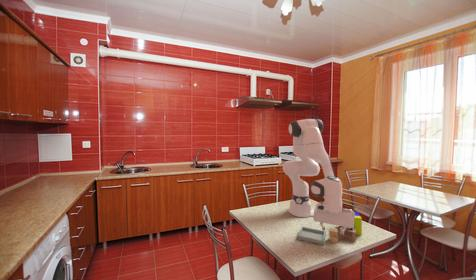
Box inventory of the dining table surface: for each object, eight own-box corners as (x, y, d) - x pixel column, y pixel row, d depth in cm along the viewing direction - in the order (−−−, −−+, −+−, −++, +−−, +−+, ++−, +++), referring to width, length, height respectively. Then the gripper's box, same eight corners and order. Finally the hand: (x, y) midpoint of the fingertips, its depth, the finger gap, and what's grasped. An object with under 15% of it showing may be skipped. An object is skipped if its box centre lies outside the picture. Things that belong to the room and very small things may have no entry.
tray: (302, 230, 127) (302, 226, 127) (325, 235, 121) (325, 231, 121) (297, 239, 115) (297, 235, 115) (322, 245, 109) (323, 241, 109)
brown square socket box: (340, 232, 124) (340, 224, 123) (355, 235, 120) (355, 227, 120) (340, 238, 117) (340, 229, 117) (355, 241, 113) (355, 232, 113)
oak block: (329, 238, 117) (330, 227, 117) (337, 239, 115) (337, 229, 115) (329, 241, 114) (329, 230, 114) (337, 243, 112) (337, 232, 112)
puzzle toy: (357, 228, 130) (357, 212, 130) (361, 235, 121) (361, 218, 120) (339, 226, 133) (339, 210, 133) (342, 233, 123) (342, 216, 123)
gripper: (355, 208, 112) (354, 234, 112) (314, 202, 122) (314, 226, 122) (355, 211, 106) (354, 239, 106) (312, 205, 116) (312, 230, 116)
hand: (332, 232), depth 114 cm, fingers open, 8 cm apart
